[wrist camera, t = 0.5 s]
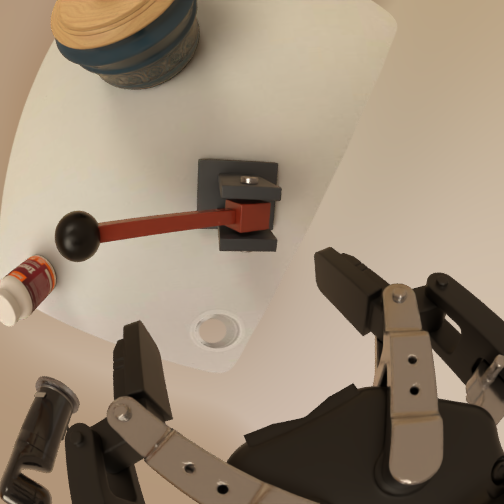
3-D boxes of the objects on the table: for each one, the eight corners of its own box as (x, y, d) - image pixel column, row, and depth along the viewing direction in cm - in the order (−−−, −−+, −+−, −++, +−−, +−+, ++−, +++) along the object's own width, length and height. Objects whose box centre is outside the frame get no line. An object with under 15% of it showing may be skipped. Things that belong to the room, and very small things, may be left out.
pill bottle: (49, 250, 31) (6, 285, 21) (62, 289, 33) (28, 331, 23) (22, 257, 30) (-20, 289, 20) (35, 293, 33) (0, 332, 22)
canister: (222, 34, 25) (235, -54, 8) (149, 111, 27) (85, 74, 11) (148, -7, 20) (116, -86, 4) (80, 64, 23) (-1, 22, 7)
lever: (59, 255, 15) (58, 273, 13) (53, 210, 14) (49, 220, 12) (248, 226, 25) (271, 236, 22) (250, 191, 23) (275, 197, 21)
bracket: (197, 225, 33) (189, 269, 21) (199, 159, 30) (189, 163, 18) (270, 227, 34) (301, 269, 22) (275, 162, 32) (313, 170, 20)
